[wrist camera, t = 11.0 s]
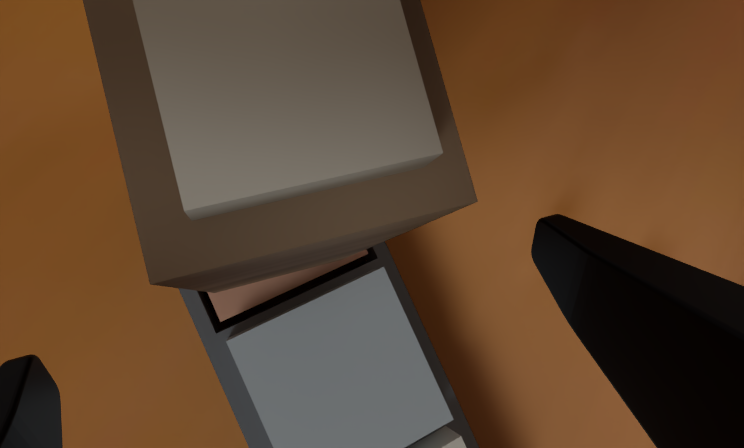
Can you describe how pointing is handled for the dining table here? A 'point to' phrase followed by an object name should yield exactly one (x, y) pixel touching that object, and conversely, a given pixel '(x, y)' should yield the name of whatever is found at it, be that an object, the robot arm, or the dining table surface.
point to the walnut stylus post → (275, 131)
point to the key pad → (336, 367)
